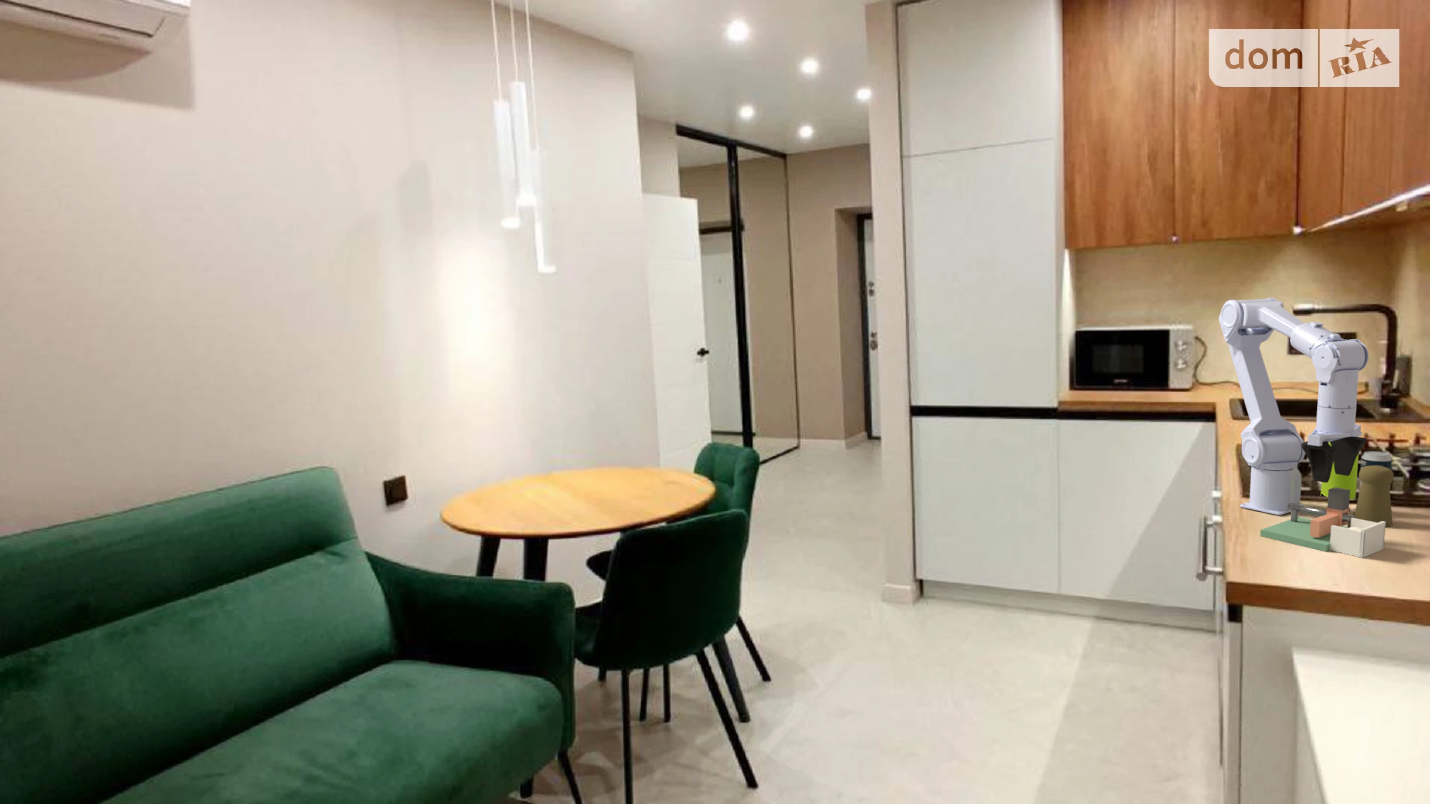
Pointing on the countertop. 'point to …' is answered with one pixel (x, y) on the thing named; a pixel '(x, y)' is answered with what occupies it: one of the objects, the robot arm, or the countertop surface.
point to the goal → (1358, 538)
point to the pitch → (1297, 534)
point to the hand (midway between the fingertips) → (1331, 478)
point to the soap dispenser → (1342, 481)
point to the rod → (1313, 512)
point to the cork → (1375, 495)
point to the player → (1332, 513)
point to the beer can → (1375, 460)
